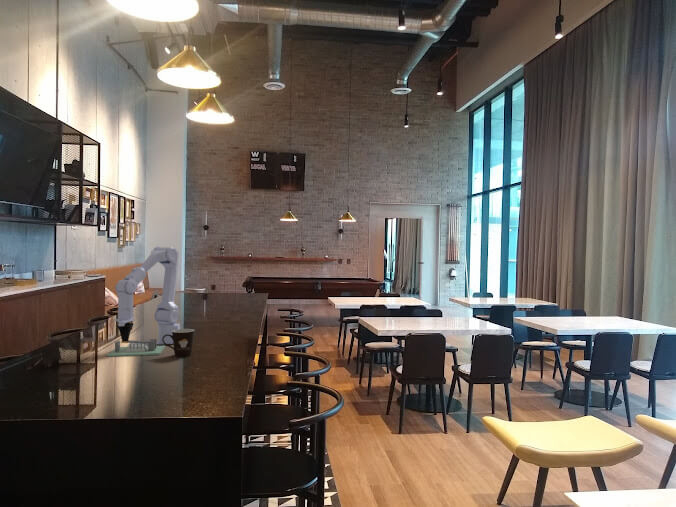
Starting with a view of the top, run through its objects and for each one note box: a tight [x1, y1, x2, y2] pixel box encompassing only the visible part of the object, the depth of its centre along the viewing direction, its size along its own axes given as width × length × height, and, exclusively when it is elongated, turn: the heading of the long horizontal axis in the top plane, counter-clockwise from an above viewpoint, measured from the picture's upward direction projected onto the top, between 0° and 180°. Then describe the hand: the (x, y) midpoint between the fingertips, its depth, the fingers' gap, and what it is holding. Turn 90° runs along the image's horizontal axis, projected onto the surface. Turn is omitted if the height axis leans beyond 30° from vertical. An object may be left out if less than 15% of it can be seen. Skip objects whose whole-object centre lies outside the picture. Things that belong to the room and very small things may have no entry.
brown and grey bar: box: [120, 339, 155, 345], centre depth 199 cm, size 13×4×2 cm, turn 102°
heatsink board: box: [106, 338, 166, 358], centre depth 199 cm, size 20×15×5 cm
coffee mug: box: [162, 328, 195, 358], centre depth 193 cm, size 12×9×10 cm
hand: (125, 341), depth 197 cm, fingers closed, pressing on brown and grey bar
